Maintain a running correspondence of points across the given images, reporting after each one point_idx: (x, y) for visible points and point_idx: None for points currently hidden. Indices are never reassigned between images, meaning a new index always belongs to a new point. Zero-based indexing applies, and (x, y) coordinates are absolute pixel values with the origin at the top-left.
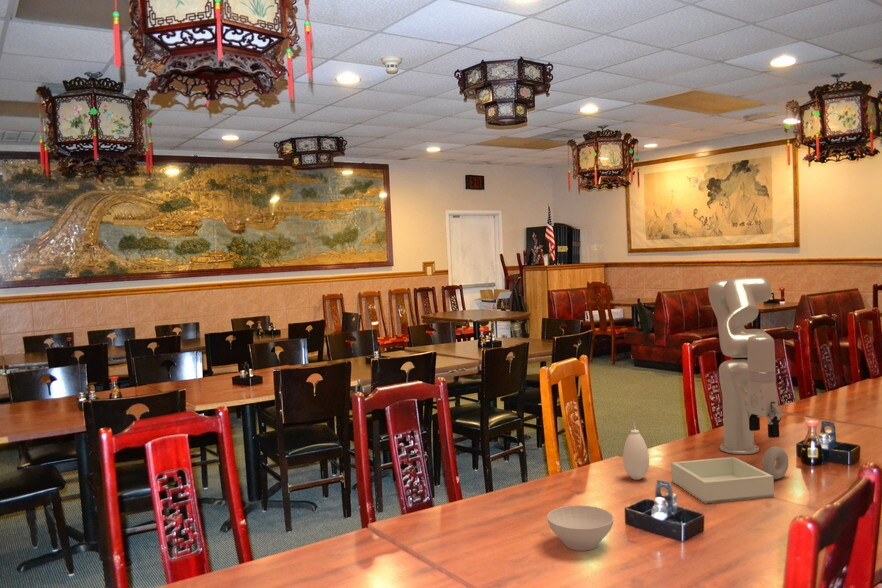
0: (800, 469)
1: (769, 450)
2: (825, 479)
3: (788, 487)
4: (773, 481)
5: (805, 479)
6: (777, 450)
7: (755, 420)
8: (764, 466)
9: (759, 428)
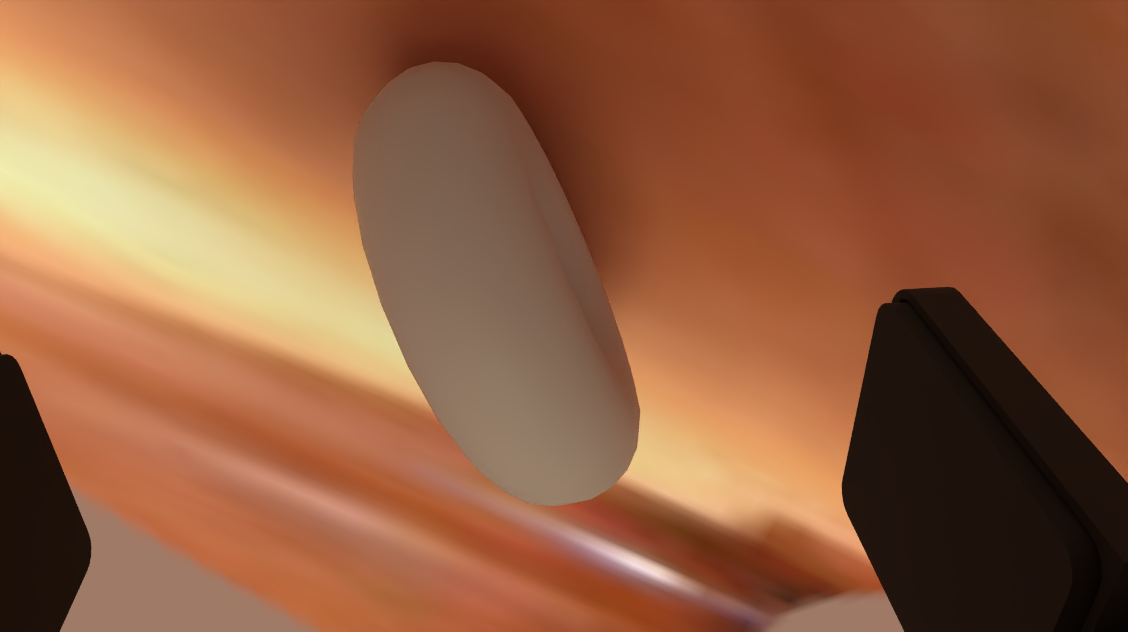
0: (708, 516)
1: (447, 291)
2: (394, 548)
3: (195, 161)
4: None
5: (428, 424)
6: (430, 398)
7: (980, 628)
8: (405, 75)
9: (853, 516)
